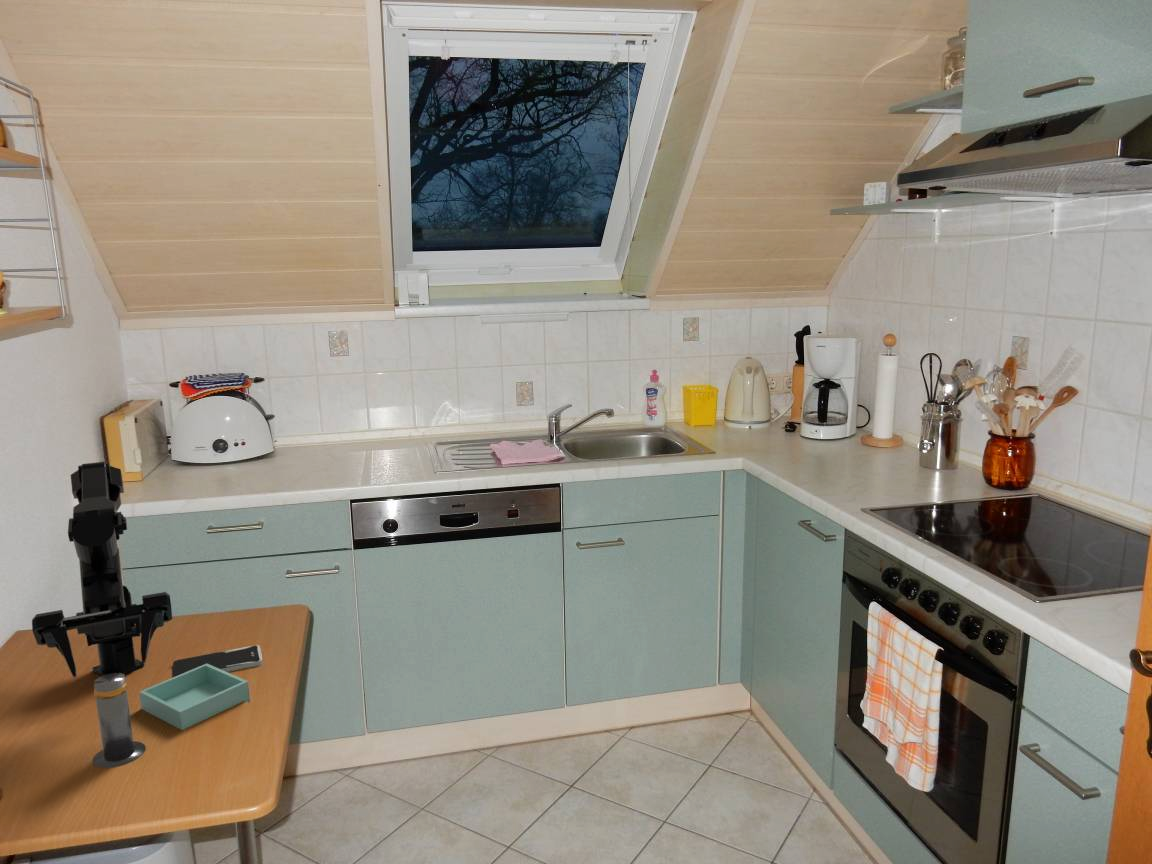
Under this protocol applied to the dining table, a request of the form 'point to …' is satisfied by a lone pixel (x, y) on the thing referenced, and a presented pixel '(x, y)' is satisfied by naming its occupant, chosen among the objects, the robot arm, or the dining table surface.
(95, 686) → the strut
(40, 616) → the robot arm
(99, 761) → the dark metal disc
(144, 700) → the bin
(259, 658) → the smartphone
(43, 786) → the dining table surface
